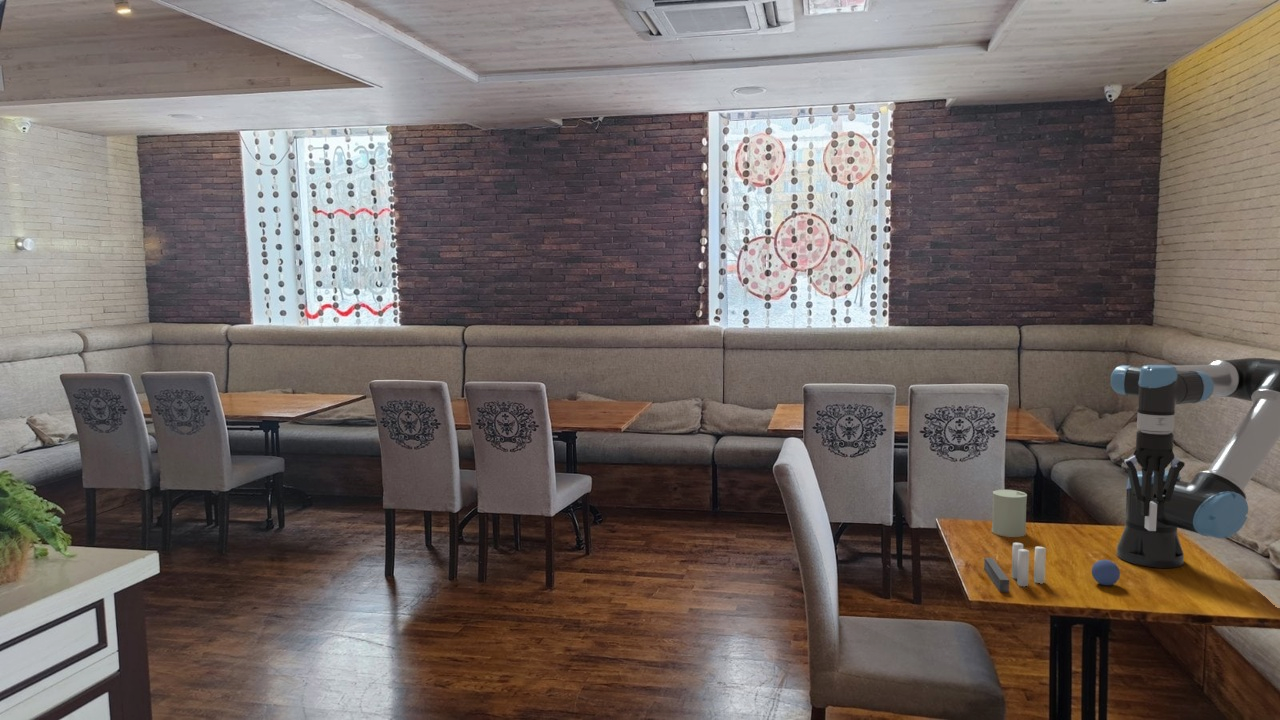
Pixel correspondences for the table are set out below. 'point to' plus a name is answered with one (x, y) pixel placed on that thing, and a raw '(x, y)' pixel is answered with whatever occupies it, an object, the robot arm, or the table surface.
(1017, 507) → the can
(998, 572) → the back wall
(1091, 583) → the table surface
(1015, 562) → the pin back right
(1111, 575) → the ball
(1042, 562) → the pin front
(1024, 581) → the pin back left
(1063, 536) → the table surface
